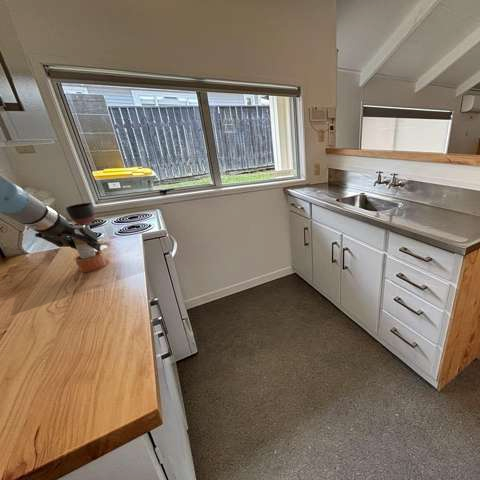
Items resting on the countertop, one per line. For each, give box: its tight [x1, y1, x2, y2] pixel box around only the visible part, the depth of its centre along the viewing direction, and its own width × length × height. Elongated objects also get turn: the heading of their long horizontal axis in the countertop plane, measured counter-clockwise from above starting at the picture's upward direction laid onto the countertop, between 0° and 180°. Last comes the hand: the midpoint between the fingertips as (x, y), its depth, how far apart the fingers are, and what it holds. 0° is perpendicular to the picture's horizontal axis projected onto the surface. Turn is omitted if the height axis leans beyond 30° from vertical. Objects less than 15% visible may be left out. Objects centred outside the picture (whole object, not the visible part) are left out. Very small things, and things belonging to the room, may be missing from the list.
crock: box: [74, 250, 107, 273], centre depth 97 cm, size 8×8×5 cm
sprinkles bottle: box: [71, 237, 96, 260], centre depth 95 cm, size 5×5×13 cm
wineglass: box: [65, 202, 108, 251], centre depth 112 cm, size 8×9×20 cm
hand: (91, 248), depth 99 cm, fingers closed on sprinkles bottle, 4 cm apart
